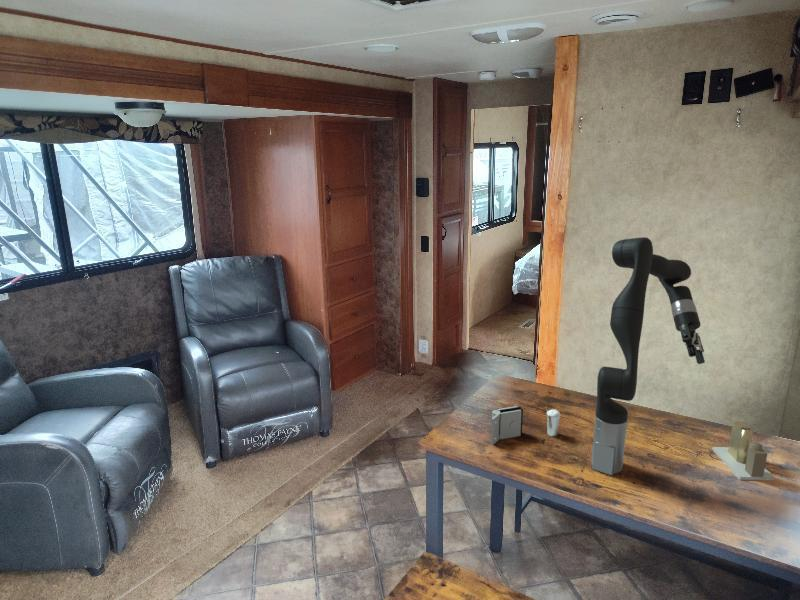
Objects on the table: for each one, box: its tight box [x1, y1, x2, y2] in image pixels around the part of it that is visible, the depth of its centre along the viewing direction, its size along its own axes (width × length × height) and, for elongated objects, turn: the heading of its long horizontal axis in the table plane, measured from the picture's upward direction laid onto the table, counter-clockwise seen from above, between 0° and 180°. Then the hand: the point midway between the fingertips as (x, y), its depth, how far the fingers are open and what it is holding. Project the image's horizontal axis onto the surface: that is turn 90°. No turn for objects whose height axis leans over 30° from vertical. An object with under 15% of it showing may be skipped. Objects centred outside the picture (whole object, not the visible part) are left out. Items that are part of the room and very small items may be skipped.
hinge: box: [490, 405, 524, 446], centre depth 186 cm, size 14×5×10 cm, turn 118°
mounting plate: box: [712, 441, 776, 481], centre depth 167 cm, size 16×10×10 cm, turn 176°
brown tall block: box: [728, 421, 754, 464], centre depth 168 cm, size 7×3×11 cm, turn 177°
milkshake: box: [544, 405, 561, 437], centre depth 187 cm, size 4×5×10 cm
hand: (697, 359), depth 174 cm, fingers open, 8 cm apart
